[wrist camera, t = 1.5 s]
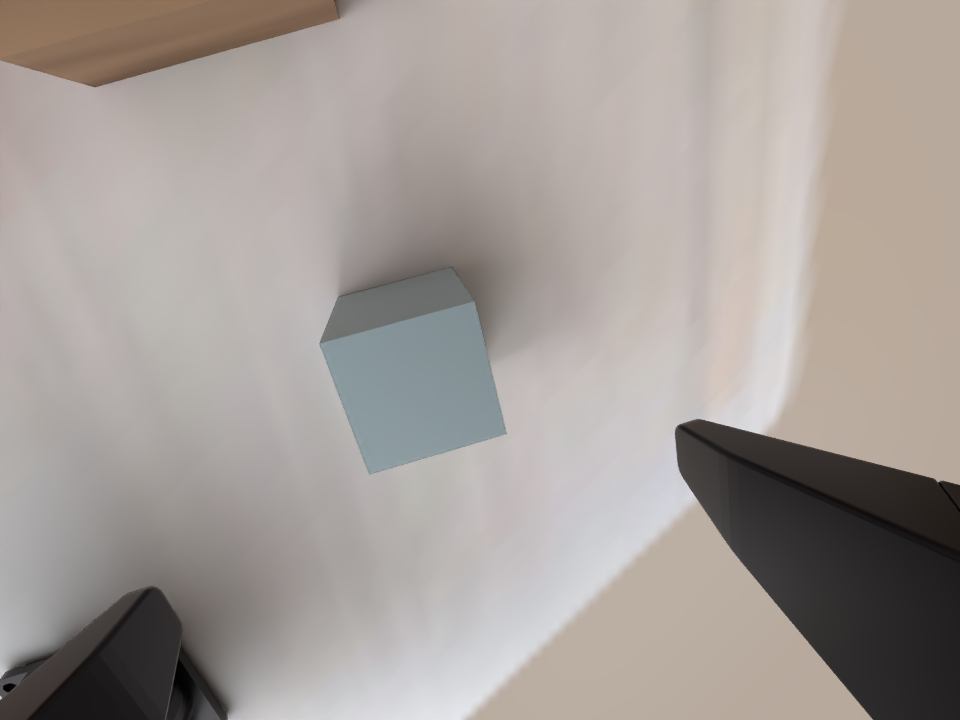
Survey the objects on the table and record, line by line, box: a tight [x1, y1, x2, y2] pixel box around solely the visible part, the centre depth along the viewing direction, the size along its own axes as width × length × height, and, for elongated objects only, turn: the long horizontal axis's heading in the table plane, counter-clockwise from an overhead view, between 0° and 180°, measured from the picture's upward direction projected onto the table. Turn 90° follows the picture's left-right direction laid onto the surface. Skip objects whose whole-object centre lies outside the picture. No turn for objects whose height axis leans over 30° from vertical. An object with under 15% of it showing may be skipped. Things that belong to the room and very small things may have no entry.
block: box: [319, 267, 507, 475], centre depth 16 cm, size 4×4×5 cm
